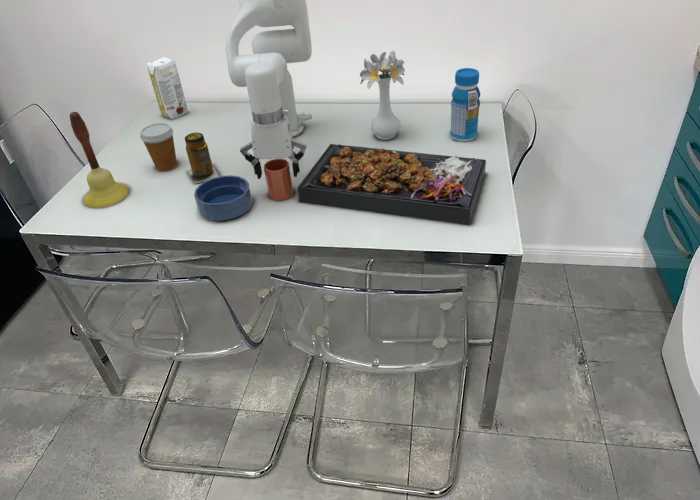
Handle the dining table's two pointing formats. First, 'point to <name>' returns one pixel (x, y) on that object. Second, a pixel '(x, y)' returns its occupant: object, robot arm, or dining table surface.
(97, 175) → the handbell
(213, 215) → the bowl
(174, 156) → the disposable coffee cup
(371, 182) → the food platter
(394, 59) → the flower vase
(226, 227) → the dining table surface
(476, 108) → the beverage bottle
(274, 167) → the cup
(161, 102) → the juice carton
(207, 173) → the condiment
